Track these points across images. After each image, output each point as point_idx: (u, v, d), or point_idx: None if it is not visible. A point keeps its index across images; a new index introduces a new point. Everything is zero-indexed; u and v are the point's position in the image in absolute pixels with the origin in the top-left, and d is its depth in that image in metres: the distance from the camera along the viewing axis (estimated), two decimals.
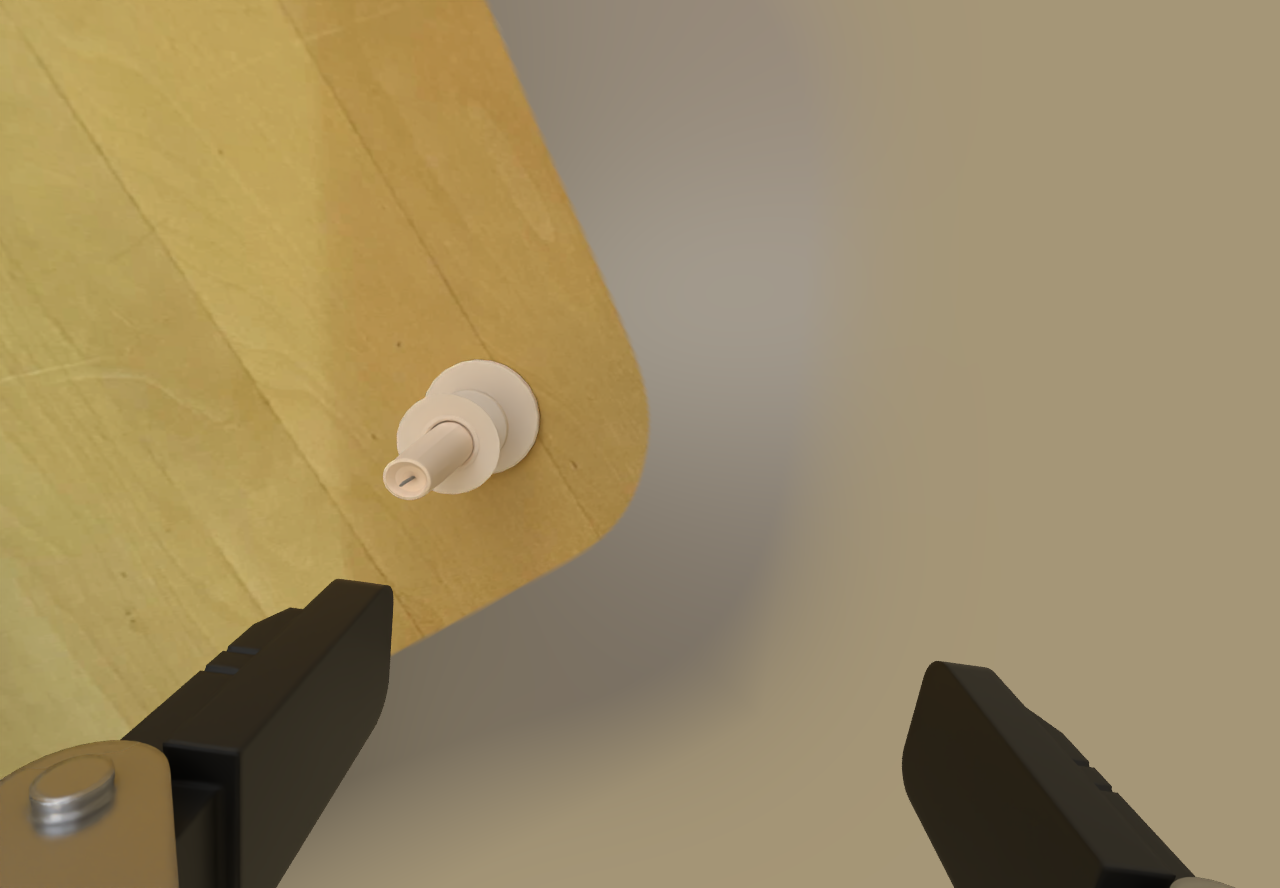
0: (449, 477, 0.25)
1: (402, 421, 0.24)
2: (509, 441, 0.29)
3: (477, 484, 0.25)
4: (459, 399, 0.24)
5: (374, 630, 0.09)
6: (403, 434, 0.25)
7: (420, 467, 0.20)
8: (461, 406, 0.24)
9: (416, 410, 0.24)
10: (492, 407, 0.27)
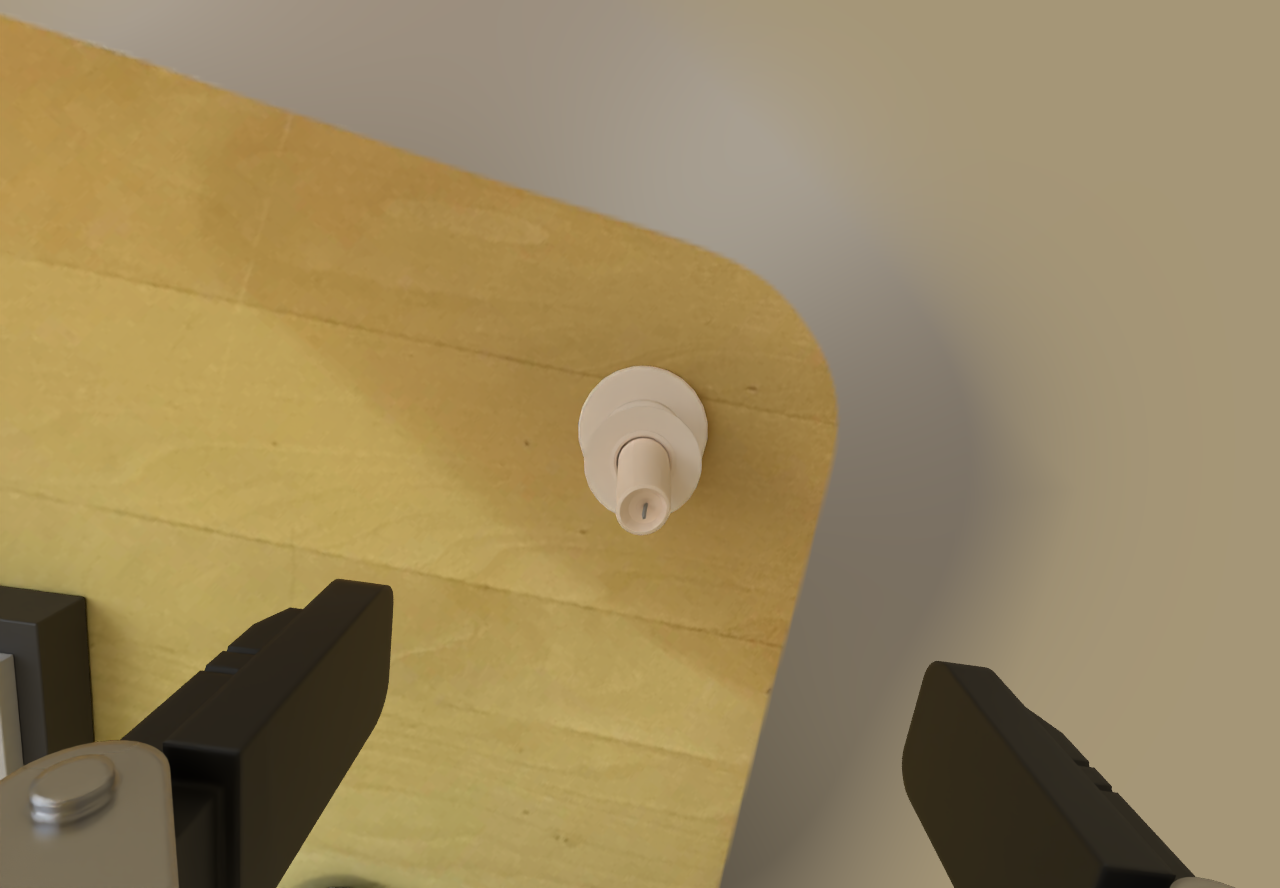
0: (671, 489, 0.22)
1: (590, 484, 0.22)
2: None
3: (698, 471, 0.22)
4: (612, 419, 0.21)
5: (374, 630, 0.09)
6: (602, 493, 0.22)
7: (643, 488, 0.17)
8: (620, 423, 0.21)
9: (590, 464, 0.22)
10: None
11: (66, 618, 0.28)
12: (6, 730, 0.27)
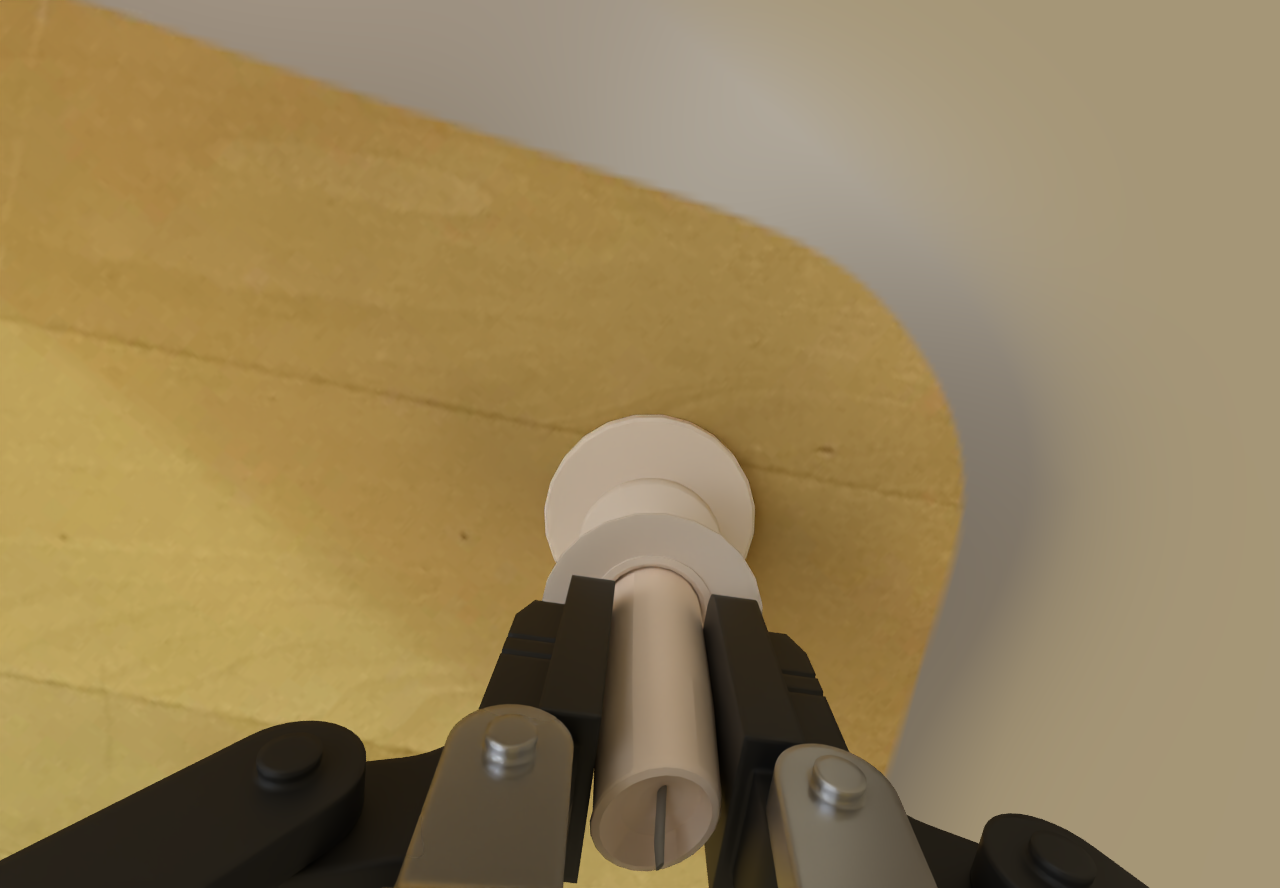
0: None
1: None
2: (715, 509, 0.16)
3: None
4: (593, 537, 0.11)
5: None
6: None
7: (656, 775, 0.07)
8: (608, 544, 0.11)
9: None
10: (650, 492, 0.14)
11: None
12: None
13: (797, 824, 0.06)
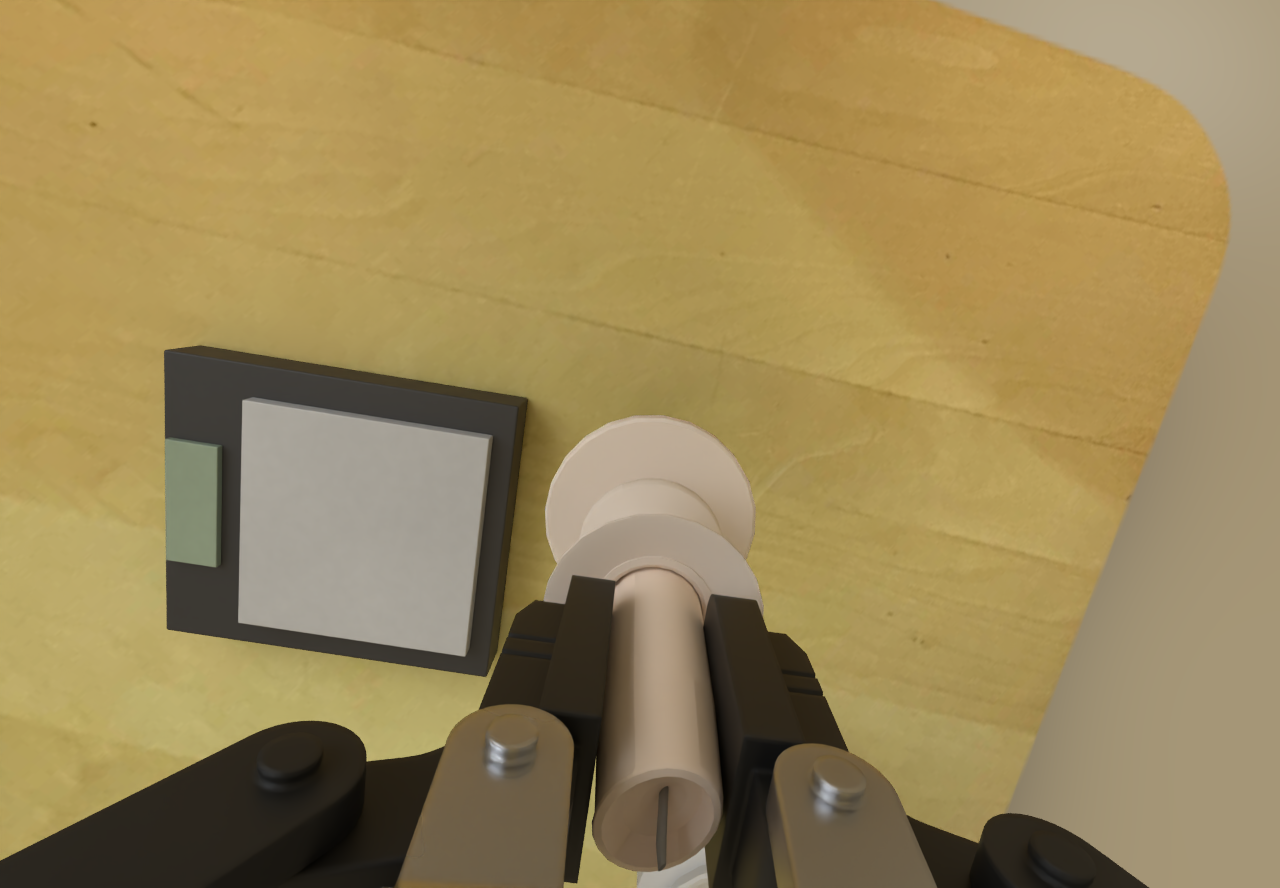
0: None
1: None
2: (716, 510, 0.16)
3: None
4: (595, 538, 0.11)
5: None
6: None
7: (658, 776, 0.07)
8: (610, 545, 0.11)
9: None
10: (651, 493, 0.14)
11: (523, 411, 0.31)
12: (482, 504, 0.30)
13: (796, 824, 0.06)
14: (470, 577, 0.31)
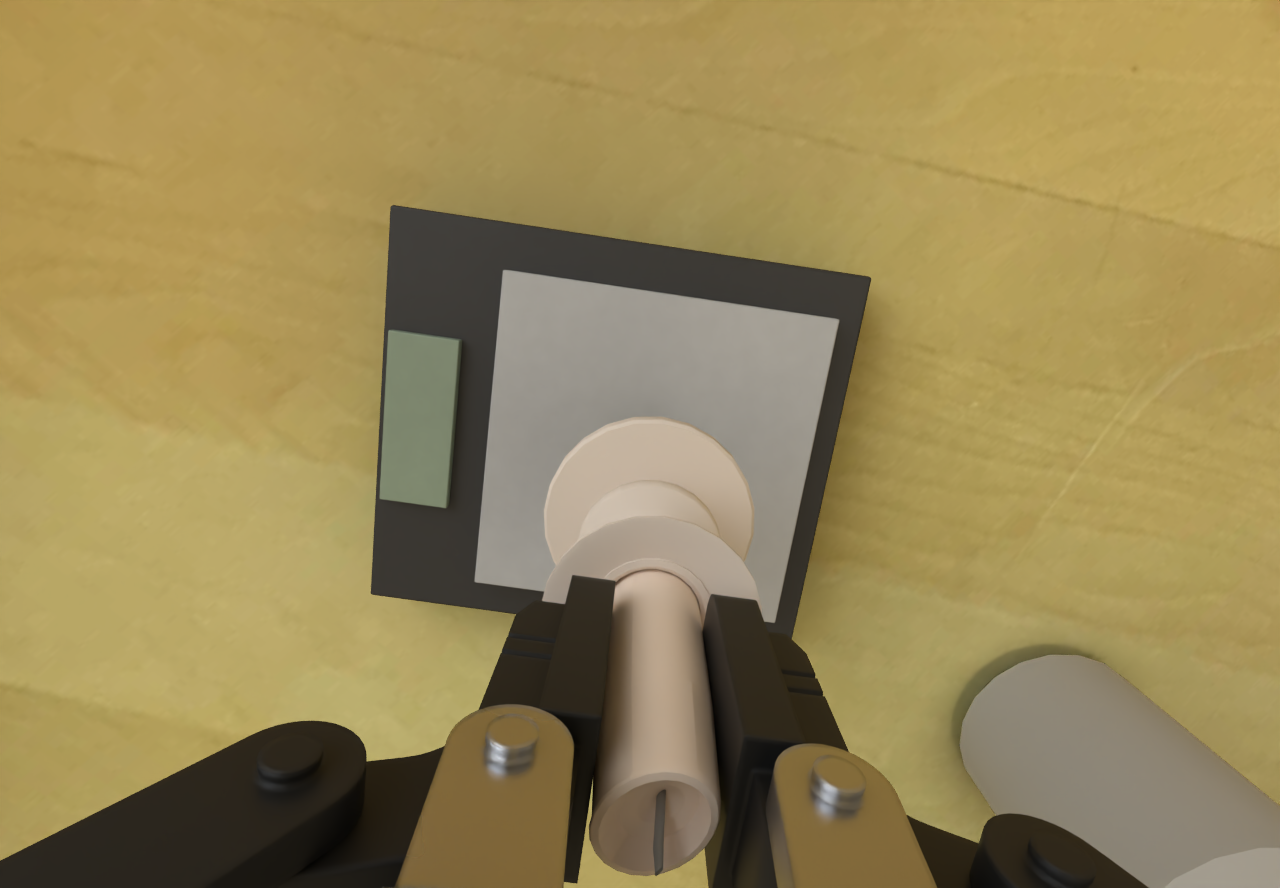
0: None
1: None
2: (714, 511, 0.16)
3: None
4: (593, 540, 0.11)
5: None
6: None
7: (655, 779, 0.07)
8: (608, 547, 0.11)
9: None
10: (649, 495, 0.14)
11: None
12: None
13: (797, 824, 0.06)
14: (792, 514, 0.23)
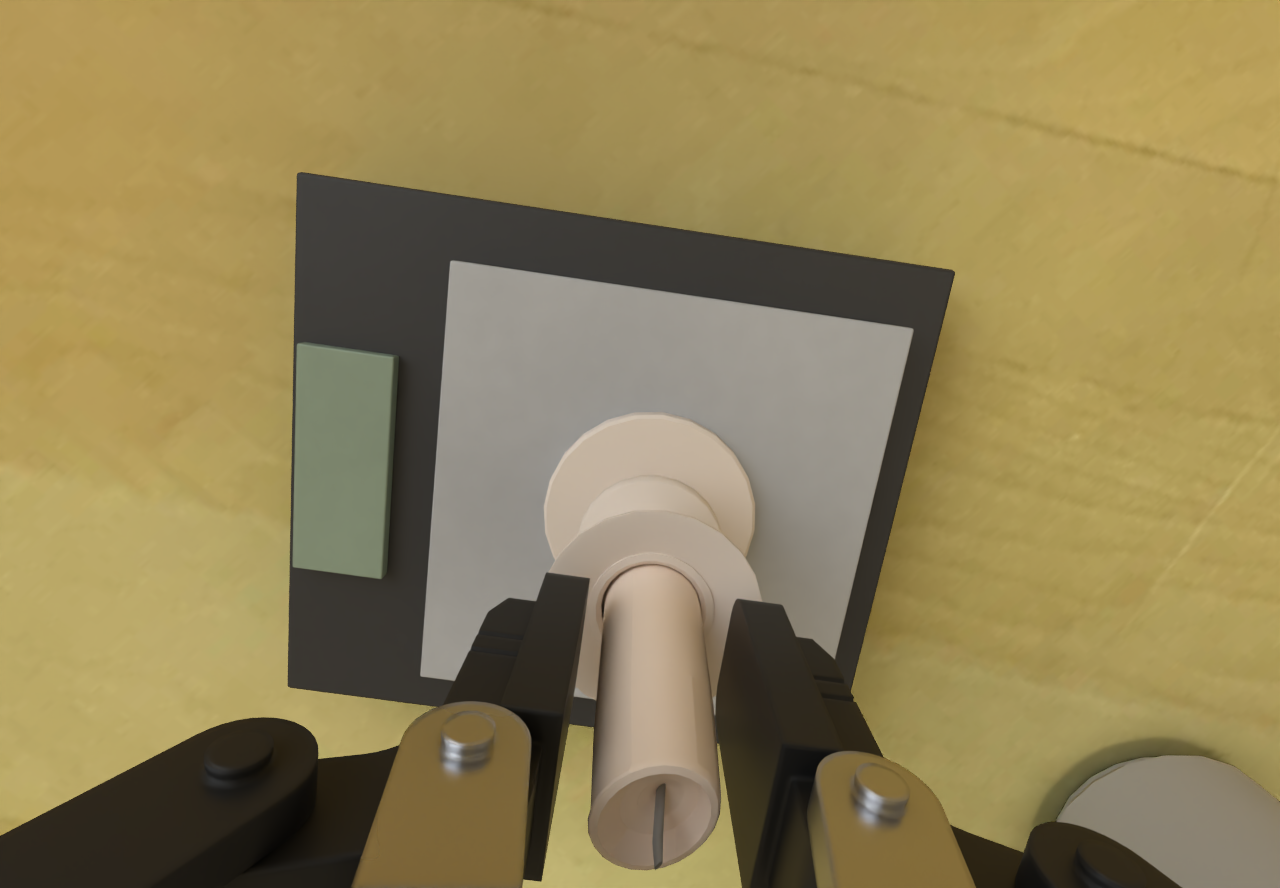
0: None
1: None
2: (715, 507, 0.16)
3: None
4: (592, 534, 0.11)
5: (583, 617, 0.10)
6: None
7: (655, 773, 0.07)
8: (608, 541, 0.11)
9: None
10: (649, 490, 0.14)
11: None
12: None
13: (838, 829, 0.06)
14: (844, 589, 0.17)
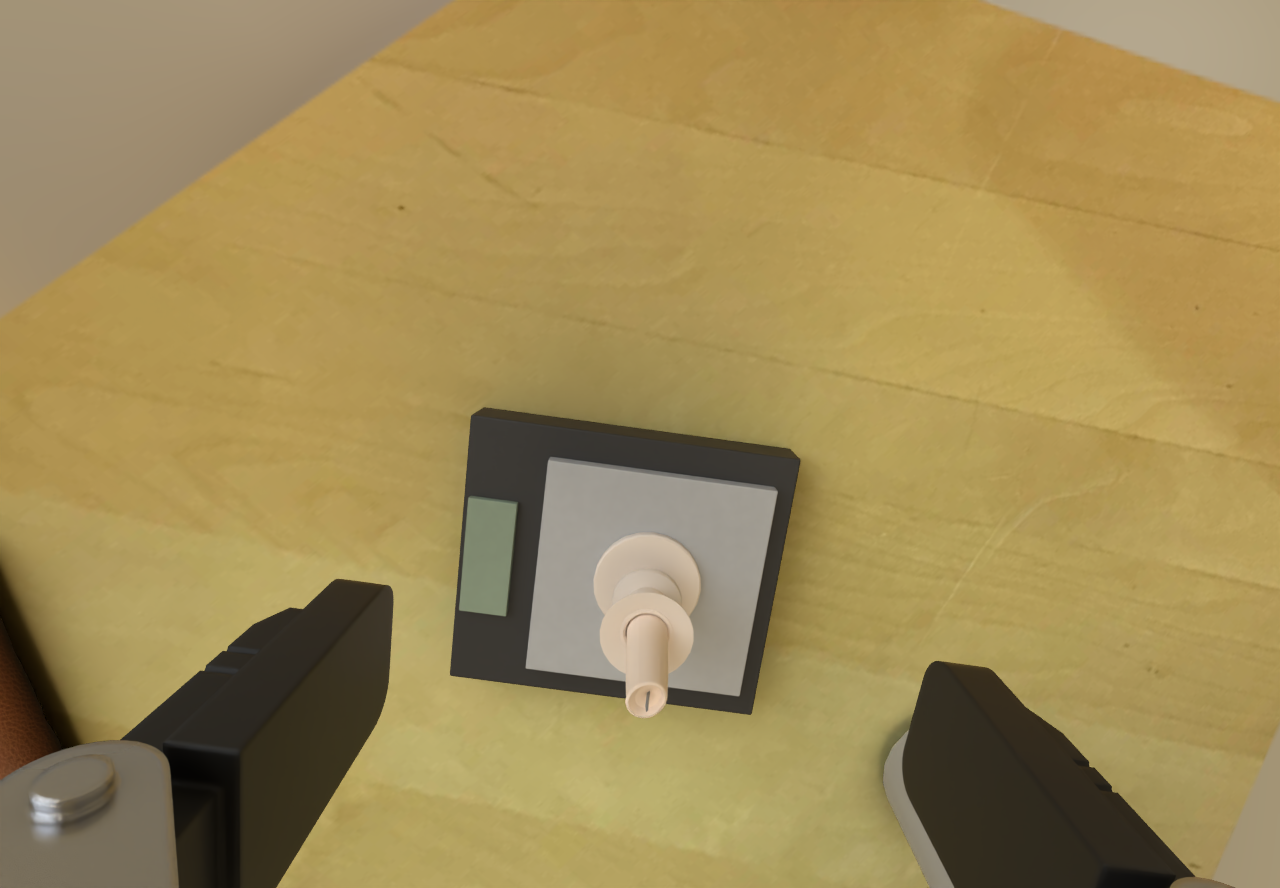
0: (669, 654, 0.27)
1: (604, 651, 0.27)
2: (680, 580, 0.31)
3: (691, 640, 0.27)
4: (622, 602, 0.27)
5: (374, 630, 0.09)
6: (613, 658, 0.27)
7: (646, 684, 0.22)
8: (628, 604, 0.27)
9: (604, 635, 0.27)
10: (646, 576, 0.29)
11: None
12: None
13: None
14: (750, 621, 0.33)
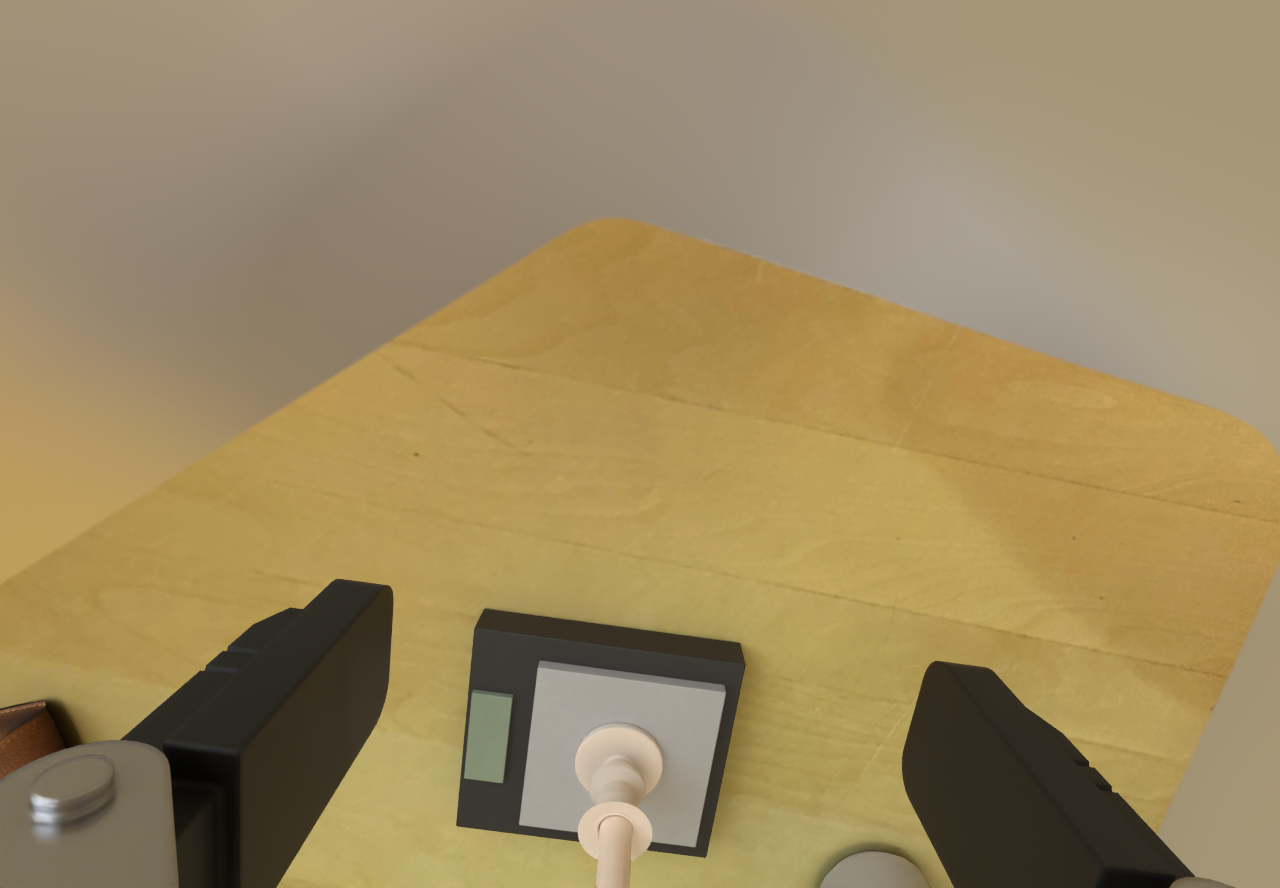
0: (633, 845, 0.34)
1: (581, 843, 0.34)
2: (646, 762, 0.38)
3: (650, 836, 0.34)
4: (595, 808, 0.34)
5: (374, 630, 0.09)
6: (589, 848, 0.34)
7: None
8: (600, 810, 0.34)
9: (582, 832, 0.34)
10: (617, 770, 0.36)
11: None
12: (716, 737, 0.39)
13: None
14: (703, 790, 0.40)
